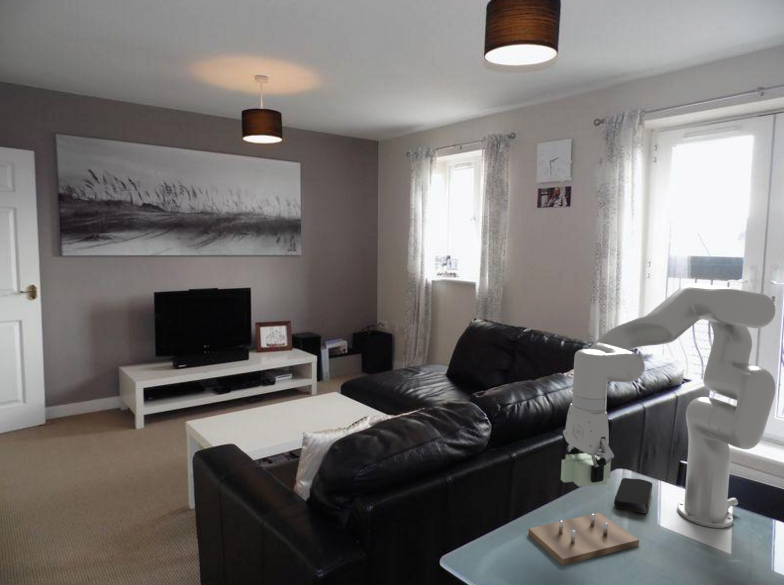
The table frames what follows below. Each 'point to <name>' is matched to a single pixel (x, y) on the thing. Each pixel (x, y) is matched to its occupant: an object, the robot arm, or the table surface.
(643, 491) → the black sponge
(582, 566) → the table surface
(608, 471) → the green grooved block
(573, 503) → the table surface
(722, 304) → the robot arm
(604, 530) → the pin plate
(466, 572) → the table surface
